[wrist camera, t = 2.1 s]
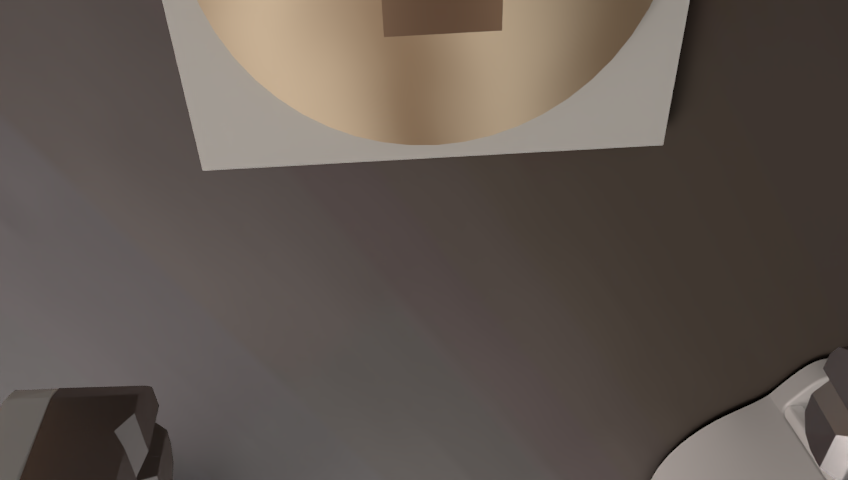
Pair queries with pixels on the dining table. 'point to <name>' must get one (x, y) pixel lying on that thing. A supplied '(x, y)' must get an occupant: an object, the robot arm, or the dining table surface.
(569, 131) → the mat
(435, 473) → the dining table surface
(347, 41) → the lid
